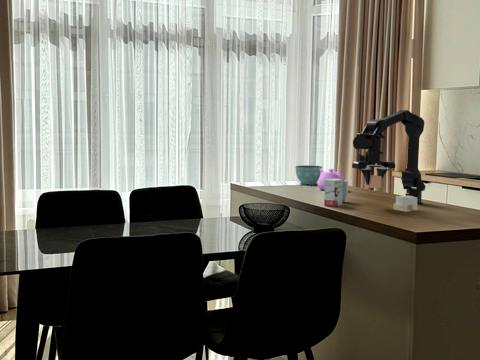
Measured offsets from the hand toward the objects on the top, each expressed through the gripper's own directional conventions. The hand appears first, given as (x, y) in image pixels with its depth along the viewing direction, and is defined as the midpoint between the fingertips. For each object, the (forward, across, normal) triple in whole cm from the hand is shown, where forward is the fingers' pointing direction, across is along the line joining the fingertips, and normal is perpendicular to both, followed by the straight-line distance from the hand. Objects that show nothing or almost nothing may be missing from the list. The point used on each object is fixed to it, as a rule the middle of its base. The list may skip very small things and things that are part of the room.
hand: (373, 184), depth 245 cm
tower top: (+7, -10, +10) cm, 16 cm away
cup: (+10, +6, -19) cm, 22 cm away
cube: (+1, 0, 0) cm, 1 cm away
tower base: (+10, -10, +10) cm, 17 cm away
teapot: (+10, -13, -63) cm, 65 cm away
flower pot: (+10, -15, -93) cm, 95 cm away
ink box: (+10, +14, -10) cm, 20 cm away
